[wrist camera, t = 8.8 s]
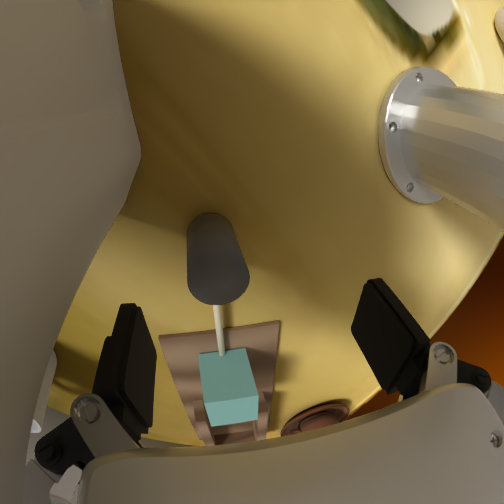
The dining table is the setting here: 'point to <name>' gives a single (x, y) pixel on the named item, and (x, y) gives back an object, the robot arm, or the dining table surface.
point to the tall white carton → (53, 188)
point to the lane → (189, 380)
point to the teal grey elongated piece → (218, 293)
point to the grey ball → (500, 22)
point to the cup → (44, 394)
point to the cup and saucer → (316, 419)
